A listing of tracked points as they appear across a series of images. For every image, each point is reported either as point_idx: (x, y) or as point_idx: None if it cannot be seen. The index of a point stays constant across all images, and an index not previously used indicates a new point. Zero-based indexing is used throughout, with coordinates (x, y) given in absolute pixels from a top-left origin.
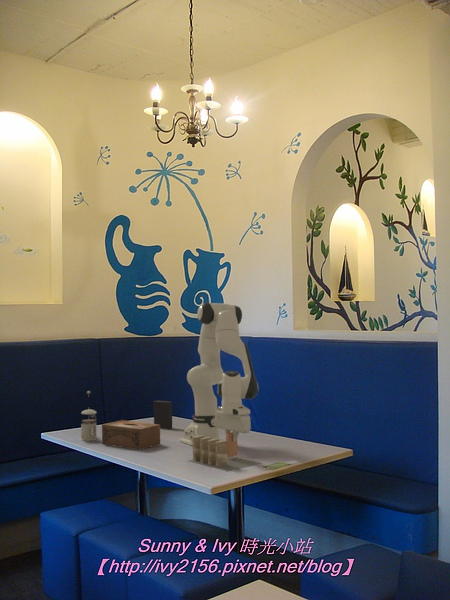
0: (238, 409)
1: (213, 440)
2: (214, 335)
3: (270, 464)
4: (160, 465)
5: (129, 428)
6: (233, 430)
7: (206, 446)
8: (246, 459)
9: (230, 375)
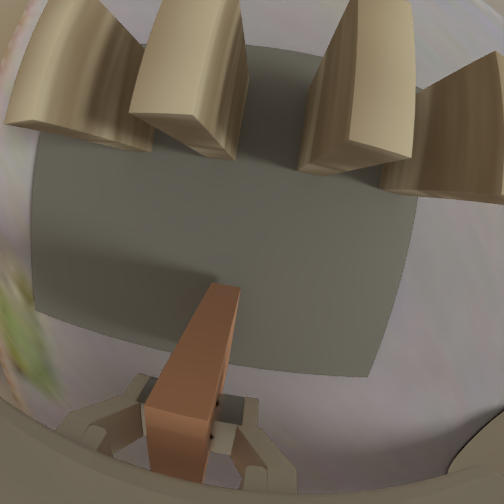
0: None
1: (161, 7)
2: None
3: (40, 339)
4: (459, 18)
5: None
6: (47, 433)
7: (329, 80)
8: (134, 341)
9: None
